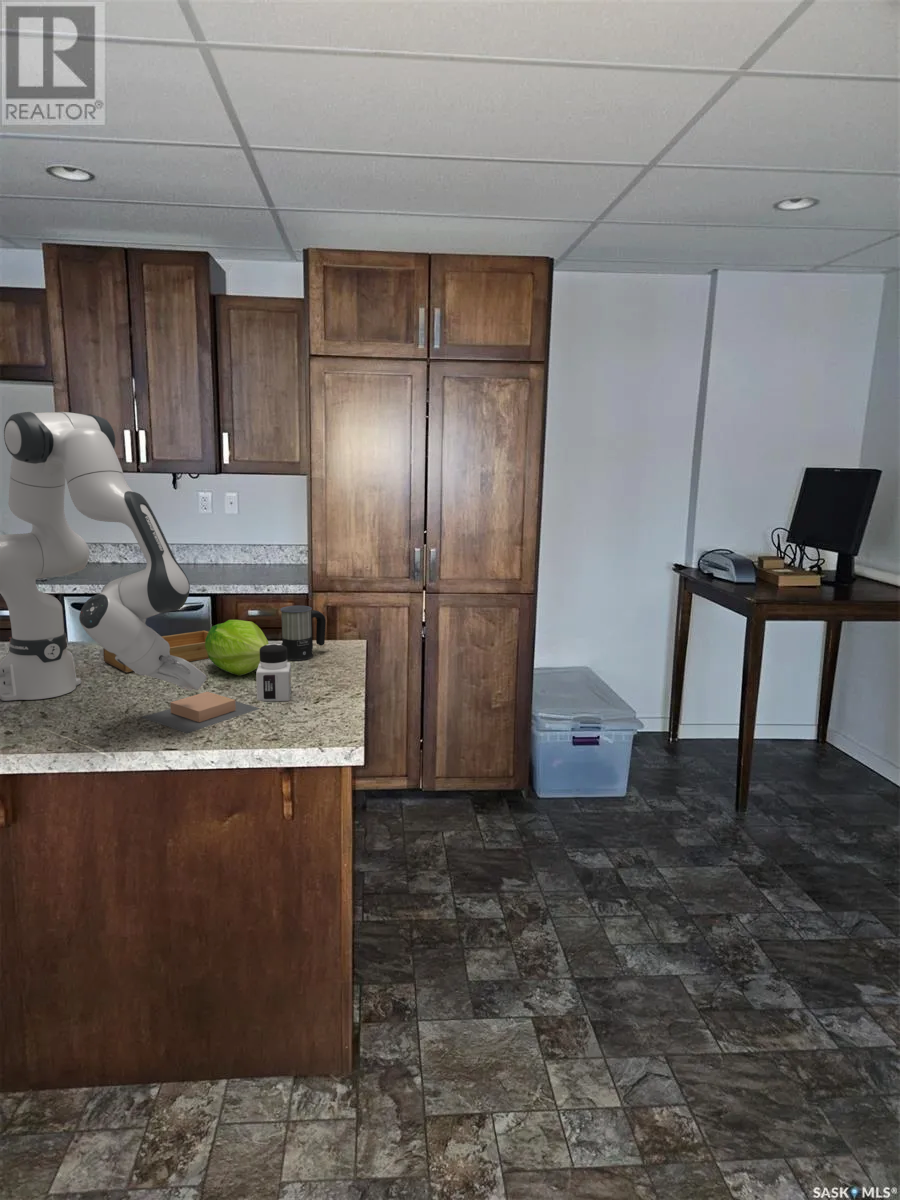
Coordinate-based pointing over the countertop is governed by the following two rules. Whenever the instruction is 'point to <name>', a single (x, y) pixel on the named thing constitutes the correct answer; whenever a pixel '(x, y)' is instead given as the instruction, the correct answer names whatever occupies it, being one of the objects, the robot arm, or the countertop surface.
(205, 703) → the block
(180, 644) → the tray
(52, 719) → the countertop surface
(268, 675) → the container
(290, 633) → the milk frother
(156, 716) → the mat
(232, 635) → the lettuce
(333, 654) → the countertop surface
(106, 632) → the robot arm
